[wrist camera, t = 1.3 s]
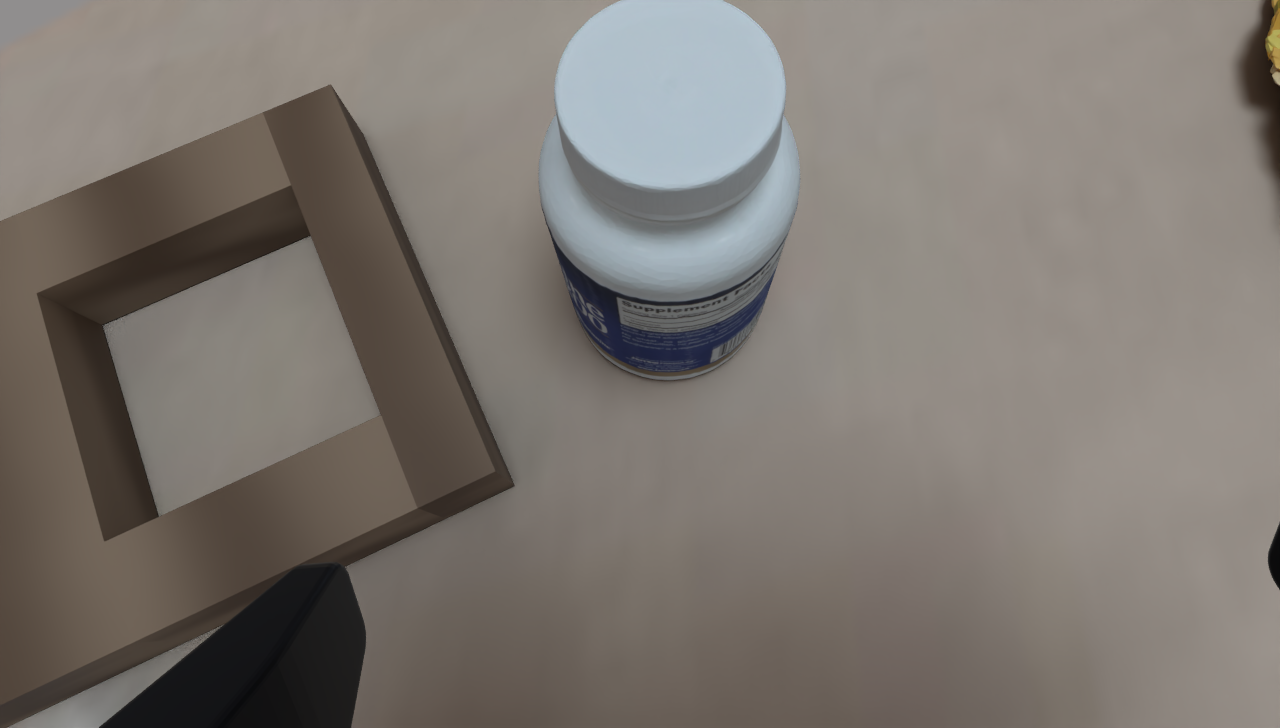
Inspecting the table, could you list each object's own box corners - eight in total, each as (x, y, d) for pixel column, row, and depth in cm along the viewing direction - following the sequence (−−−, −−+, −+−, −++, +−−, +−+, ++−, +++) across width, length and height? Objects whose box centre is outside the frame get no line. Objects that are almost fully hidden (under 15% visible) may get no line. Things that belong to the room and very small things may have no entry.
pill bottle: (564, 222, 24) (498, -26, 14) (744, 198, 24) (796, -64, 14) (584, 398, 22) (524, 249, 13) (776, 372, 22) (858, 205, 13)
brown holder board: (363, 134, 25) (330, 84, 22) (514, 485, 21) (495, 471, 19) (-402, 457, 22) (-529, 440, 20) (-362, 901, 19) (-509, 945, 17)
